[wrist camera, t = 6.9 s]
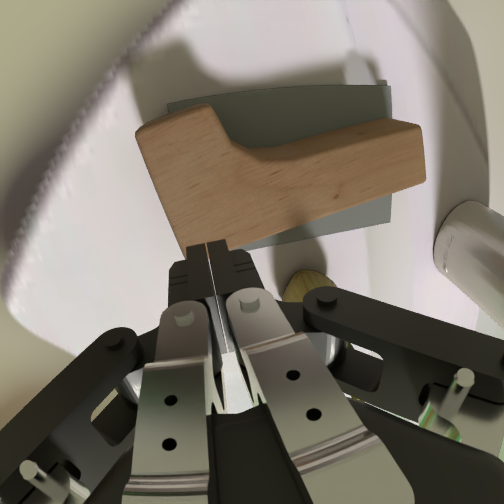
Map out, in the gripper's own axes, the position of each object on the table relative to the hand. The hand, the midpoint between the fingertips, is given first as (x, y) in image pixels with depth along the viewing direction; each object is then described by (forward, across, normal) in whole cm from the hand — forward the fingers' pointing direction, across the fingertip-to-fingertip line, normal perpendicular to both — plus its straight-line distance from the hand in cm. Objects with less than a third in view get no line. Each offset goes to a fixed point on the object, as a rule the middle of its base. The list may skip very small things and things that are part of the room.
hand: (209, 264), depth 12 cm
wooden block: (+9, +2, 0) cm, 10 cm away
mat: (+12, -8, 0) cm, 14 cm away
